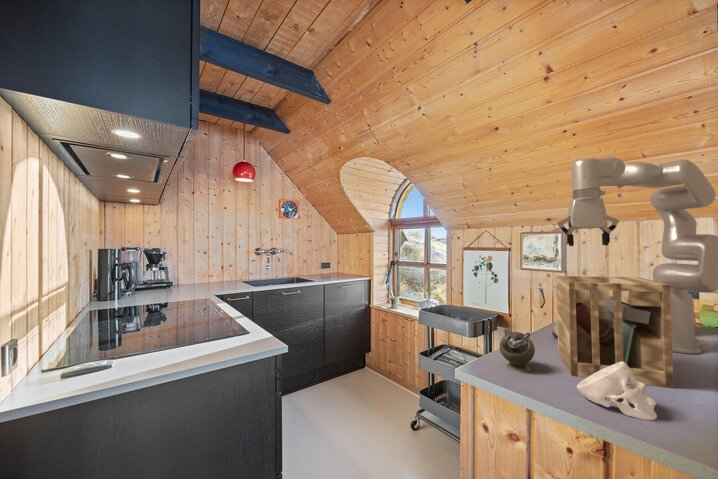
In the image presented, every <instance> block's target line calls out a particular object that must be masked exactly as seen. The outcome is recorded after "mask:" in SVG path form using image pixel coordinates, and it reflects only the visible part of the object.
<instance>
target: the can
mask: <svg viewBox="0 0 718 479" xmlns="http://www.w3.org/2000/svg"><path fill="white" fill-rule="evenodd" d="M576 323H577V324H578V325H579V326H580V327H582V328H583V329H584V330H585V331H586V332H587V333H588V334H589V335H590V336H591V309H590V308H588V307H587V306H586V305H585V304H583V303H581V302H579V303H577V304H576ZM599 344H600V345H601V346H603V347H610V346H612V345H614V344H615V342H614V330H613V329H612V328H611V327H610V326H609V325H608V324H607V323H605V322H604V321H603V320H602V319H601V318H600V317H599Z"/></svg>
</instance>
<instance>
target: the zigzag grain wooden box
mask: <svg viewBox="0 0 718 479" xmlns="http://www.w3.org/2000/svg"><path fill="white" fill-rule="evenodd" d="M555 282H556V283H555V284H556V315H557V316H556V317H557V319H556V320H557V324H558V337H557V349H558V351H557V352H558V356H559V357H560V360H561V361H562V363H563V364H564V366H565V367H566V369H567V371H568V373H569V374H570V375H571V376H573V377H579V378H587V377H589V376H591V375H592V374H594V373H596V372H598V371H600V370H602V369H604V368H606V367H609V366H611V365H613V364H616V363H619V362H624V360H623V328H622V302H625V303H627V304H629V305H636V306H638V307H641V308H643V309H645V310H647V311H650V312H651V313H650V318H649V324H645V323H639V322H634V321H629V320H627V321H629V322H631V323H633V324H634V325H636V326H637V327H636V328H634V331H633V336H632V341H631V346H630V351H629V357H628V362H627V365H628V367H629V368H630V369H631V370H632V372H633V375H634V377H635V379H636V380H637V381H639V382H641V383H643V384H645V386H651V387H653V386H654V387H661V388H668V389H669V388H670V389H674V368H673V366H674V365H673V364H674V362H673V361H674V360H673V351H672V330H671V299H670V285H668V284H664V283H660V282H656V281H654V280H650V279H647V278H643V277H640V276H639V277H638V276H637V277H636V276H590V275H588V276H587V275H584V276H583V275H555ZM607 298H609V299H613V309H614V315H613V313H612V312H610V311H608V310H607V309H605V304H606V299H607ZM579 302H581V303H583V304H585V305H586V306H587V307H588V308H590V309H591V336H590V335H589V334H588V333H587V332H586V331H585V330H584V329H583V328H582V327H580V326H579V325H578V324H577V323H576V304H577V303H579ZM599 317H600V318H601V319H602V320H603V321H604V322H605V323H607V324H608V325H609V326H610V327H611V328H612V326H613V320H614V342H615V363H614V362H613V361H612V360H611V359H610V358H608V357H607V352H608V347H603V346H601V345H600V344H599Z"/></svg>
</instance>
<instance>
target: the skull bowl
mask: <svg viewBox="0 0 718 479" xmlns="http://www.w3.org/2000/svg"><path fill="white" fill-rule="evenodd" d="M645 386H646V385H645V384H643V383H641V382H639V381H637V380H636V379H635V377H634V375H633V372H632V370H631V369H630V368H629V367H628V365H627V364H626V363H625V362H619V363H616V364H613V365H611V366H609V367H606V368H604V369H602V370H600V371H598V372H596V373H594V374H592V375H591V376H589V377H585V378H584V379H583V380H581V381H580V382H578V383H577V385H576V388H577V390H578V391H579V392H580V394H581V395H582V396H583V397H585V398H586V399H588V400H589V401H590V402H593V403H595V404H598V405H601V406H603V407H606V408H611V404H613V405H615V406H617V408H618V409H619V411H621V413H623V414H624V415H625V416H628V417H632V418H636V419H639V420H645V421H655V420H656V419H658V415H657V413H656V412H655V410H654V409H655V406H656V405H657V402H656V400H655V399H653V398H652V397H651V396H649V394H648V393H647V392H645V389H644V387H645ZM620 399H623V401H621V402H620V401H618V400H620ZM630 404H631V405H632V406H631V405H630ZM633 406H634V407H633Z"/></svg>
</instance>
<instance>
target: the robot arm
mask: <svg viewBox="0 0 718 479" xmlns="http://www.w3.org/2000/svg"><path fill="white" fill-rule="evenodd" d="M571 184H572V185H571V186H572V190H571V191H572V200H570V201H569V204H568V215H567V217H566V218H564V219H562V220H560V221H558V222H557V223H556V225H557V226H558V228H559V229H560V231H562V232H563V234H565V235H566V244H568V247H574V238H575V237H574V234H573V232H575V230H580V229H583V230H585V229H599V230H600V231H602V234H601V245H602V246H609V244H610V242H611V236H610V235H611V233H612V231H614V230H615V229H616V228H617V226H618V224H619V223H620V219H618V218H615V217H613V216H611V215H607V211H606V206H605V202H604V199H603V197H602V196H605V195H606V190H602V189H601V187H629V186H630V187H641V188H649V189H657V188H659V189H658V190H656V191H654V192H653V193H651V195H650V198H649V199H650V200H649V201H650V204H651V206H652V207H653V208H654V209H655V210H656V212H657V213H658V214H659V215H660V217H661V218H662V221H663V232H662V240H661V243H662V244H661V254H662V256H663V257H664V258H666V259H668V260H674V261H675V260H676V261H691V262H697V264H693V263H692V264H691V263H679V262H667V263H661V264H658V265H656V266H655V267H654V269H653V270H652V279H653V280H652V281H656V282H660V283H664V284H668V285H670V299H671V330H672V353H680V354H687V355H688V354H689V355H697V354H701V353H702V352H703V349H702V347H708V348H714V347H715V343H714V341H713V340H712V341H711V340H710V341H709V340H704V339H700V338H697V337H696V327H695V326H696V325H695V324H696V323H695V319H694V313H695V303H694V299H693V297H692V298H691V296H690V295H689V294H690V293H688V291H690V292H699V293H715V292H717V291H718V235H715V234H710V233H708V234H707V233H703V234H702V233H700V234H699V233H698V234H697V225H698V224H697V219H695V217H694V216H693V215H692V214H691V213H690V212H689V211H687V210H691V209H701V208H706V207H708V206H711V205H712V204H713V203H714V201H715V200H716V197H717V196H716V191H715V189H714V187H713V185H712V184H711V182H710V181H709V180H708V179H707V177H706V176H705V173H704V172H702V170H701V169H700V168H699V167H698V166H697V165H696V164H695V163H694V162H693V161H691V160H689V159H678V160H674V161H669V162H665V163H650V162H642V161H631V162H624V161H623V160H622V159H620V158H618V157H604V158H595V157H587V158H585V157H584V158H581V159H577V160H575V161H574V162H572V164H571ZM679 185H681V186H679ZM671 186H672V187H671ZM665 187H668V188H665ZM660 188H661V189H660ZM662 188H663V189H662ZM608 221H609V222H610V223H611V224H610V225H609V226H608ZM564 224H567V226H568V228H566V226H565V225H564Z"/></svg>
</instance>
